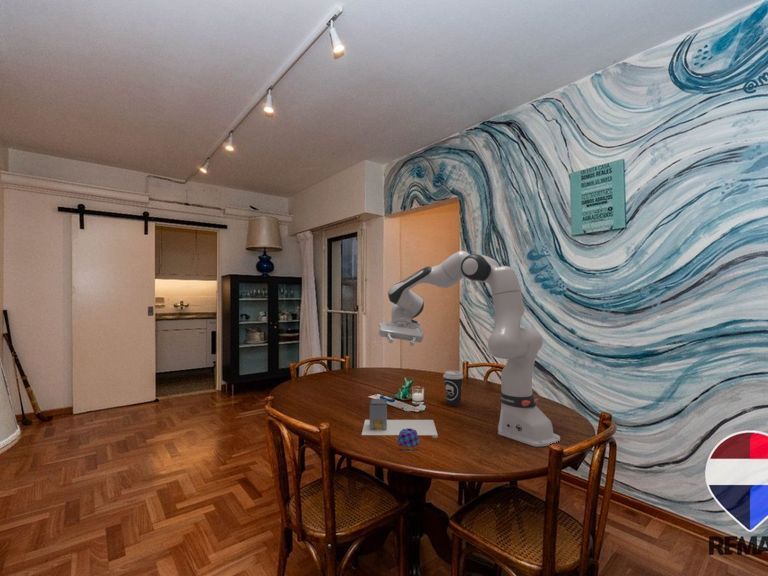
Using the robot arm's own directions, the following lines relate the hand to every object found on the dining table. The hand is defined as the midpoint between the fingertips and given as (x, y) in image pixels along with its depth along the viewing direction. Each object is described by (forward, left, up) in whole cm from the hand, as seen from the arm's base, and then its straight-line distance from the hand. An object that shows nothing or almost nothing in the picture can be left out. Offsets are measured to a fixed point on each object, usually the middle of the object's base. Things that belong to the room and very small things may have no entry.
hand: (401, 343), depth 158 cm
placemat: (-14, +10, -31) cm, 36 cm away
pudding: (-28, +15, -32) cm, 45 cm away
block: (-10, +17, -30) cm, 36 cm away
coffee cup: (+1, -29, -31) cm, 43 cm away
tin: (-10, +17, -30) cm, 36 cm away
